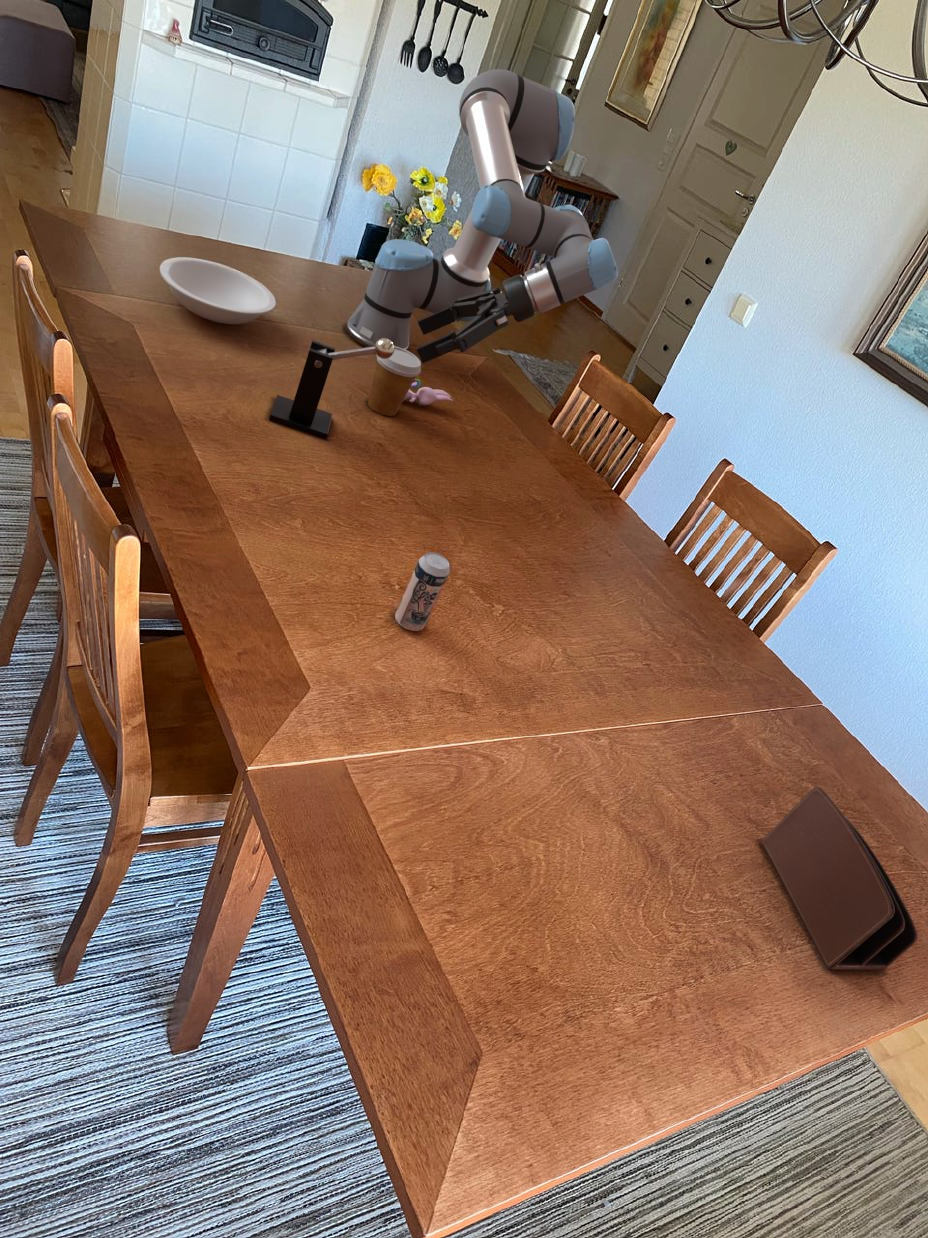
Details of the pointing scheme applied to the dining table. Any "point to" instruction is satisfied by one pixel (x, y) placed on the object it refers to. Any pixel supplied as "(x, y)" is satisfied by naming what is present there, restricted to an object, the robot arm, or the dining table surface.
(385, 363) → the disposable coffee cup
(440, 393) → the rabbit figure
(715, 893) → the dining table surface
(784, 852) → the letter holder
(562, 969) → the dining table surface
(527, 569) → the dining table surface
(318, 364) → the bracket
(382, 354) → the ball-tipped metal rod
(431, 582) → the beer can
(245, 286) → the soup bowl
